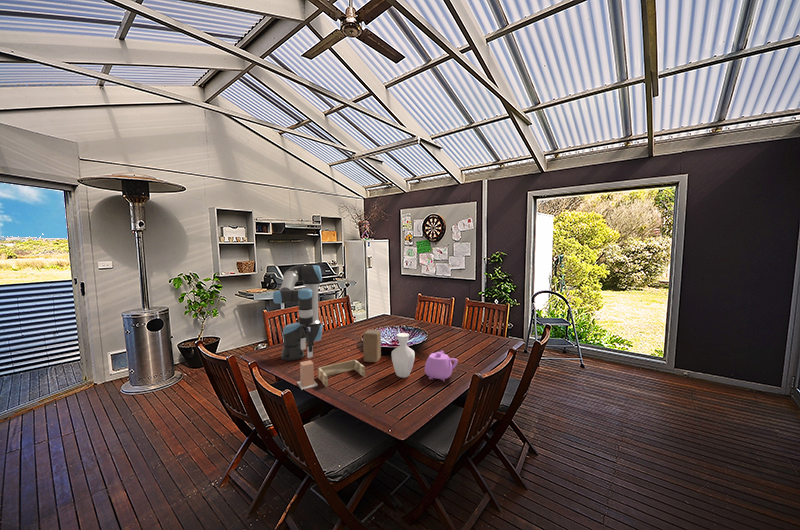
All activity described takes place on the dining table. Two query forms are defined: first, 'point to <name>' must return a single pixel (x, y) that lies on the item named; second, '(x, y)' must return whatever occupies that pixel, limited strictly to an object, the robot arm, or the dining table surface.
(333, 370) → the frame
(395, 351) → the vase
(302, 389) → the white tile
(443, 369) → the teapot
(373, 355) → the wooden block
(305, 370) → the terracotta block
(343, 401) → the dining table surface
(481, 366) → the dining table surface
